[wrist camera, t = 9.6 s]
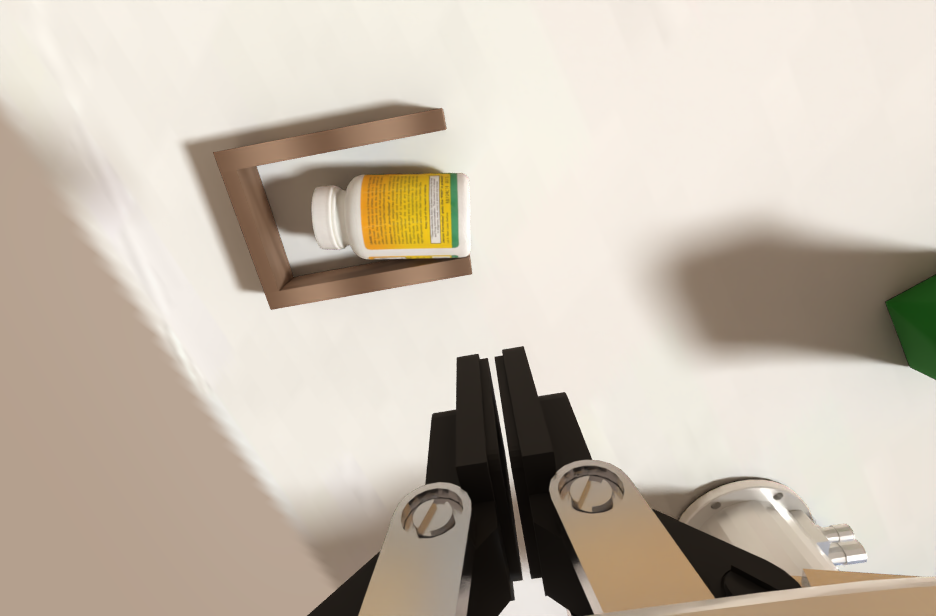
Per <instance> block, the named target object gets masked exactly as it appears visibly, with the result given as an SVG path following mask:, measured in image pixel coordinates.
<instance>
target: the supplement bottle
mask: <svg viewBox="0 0 936 616" xmlns="http://www.w3.org/2000/svg"><path fill="white" fill-rule="evenodd" d="M311 210H312V224H313V230H314V234H315V238H316V241H317V243H318V245H319V246H320V248H322V249H325V250H341V249H344V248H345V247H346V246H347V245H350V246H351V248H352V250H353V251H354V252H355V253H356V254H357V255H358V256H359V257H361V258H364V259H414V258H457V257H466V256H468V255H469V254H470V250H471V245H470V191H469V177H468V176H467V175H465V174H463V173H427V174H365V175H359V176H356V177H355V178H353V179H352V180H351V181H350V183H349V185H348V187H347V190H342V189H341V188H340V187H337V186H335V185H332V186H319V187H316V188H315V190H314V193H313V197H312V205H311Z"/></svg>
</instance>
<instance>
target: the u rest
mask: <svg viewBox="0 0 936 616" xmlns="http://www.w3.org/2000/svg"><path fill="white" fill-rule="evenodd" d="M446 129H447V128H446V123H445V117H444V112H443V109H442V108H440V109H435V110H429V111H424V112H419V113H414V114H409V115H404V116H398V117H393V118H388V119H383V120H378V121H373V122H368V123H362V124H357V125H352V126H347V127H342V128H337V129H331V130H326V131H321V132H316V133H311V134H306V135H301V136H295V137H290V138H285V139H280V140H275V141H270V142H264V143H259V144H254V145H249V146H244V147H239V148H234V149H228V150H223V151H218V152H213V154H214V156H215V159H216V162H217V164H218V167H219V170H220V173H221V175H222V178H223V181H224V184H225V186H226V189H227V192H228V194H229V197H230V200H231V203H232V205H233V208H234V211H235V214H236V216H237V219H238V222H239V224H240V227H241V230H242V233H243V235H244V238H245V241H246V244H247V246H248V249H249V252H250V254H251V257H252V260H253V263H254V265H255V268H256V271H257V274H258V276H259V279H260V282H261V284H262V287H263V290H264V293H265V295H266V298H267V301H268V304H269V306H270V309H271V310H272V309H278V308H283V307H289V306H295V305H300V304H306V303H312V302H317V301H323V300H329V299H334V298H340V297H346V296H351V295H357V294H363V293H368V292H374V291H380V290H385V289H391V288H397V287H402V286H408V285H414V284H419V283H425V282H431V281H436V280H442V279H448V278H453V277H459V276H465V275H470V274H472V268H471V260H470V254H469V255H468V256H466V257H457V258H414V259H391V260H386V261H380V262H375V263H369V264H364V265H358V266H353V267H347V268H341V269H336V270H330V271H325V272H319V273H314V274H308V275H302V276H297V277H293V274H292V271H291V268H290V265H289V262H288V259H287V256H286V253H285V250H284V247H283V244H282V241H281V238H280V235H279V232H278V229H277V226H276V223H275V220H274V217H273V214H272V211H271V208H270V205H269V202H268V199H267V196H266V194H265V191H264V188H263V185H262V182H261V179H260V176H259V173H258V170H257V167H256V166H259V165H264V164H269V163H274V162H279V161H285V160H290V159H295V158H300V157H306V156H311V155H316V154H321V153H326V152H332V151H337V150H342V149H347V148H352V147H358V146H363V145H368V144H373V143H379V142H384V141H389V140H394V139H399V138H405V137H410V136H415V135H420V134H425V133H431V132H436V131H441V130H446Z"/></svg>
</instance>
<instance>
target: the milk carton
mask: <svg viewBox="0 0 936 616" xmlns="http://www.w3.org/2000/svg"><path fill="white" fill-rule="evenodd" d="M885 303H886V305H887V308H888V311H889V313H890V316H891V319H892V321H893V324H894V327H895V329H896V332H897V334H898V337H899V340H900V342H901V345H902V348H903V350H904V353H905V356H906V358H907V361H908V364H909V366H910V368H912V369H915V370H917V371H919V372H921V373H923V374H925V375H927V376H929V377H931V378H933V379H935V380H936V275H934V276H932V277H931V278H929V279H927V280H925V281H923V282H921V283H920V284H918V285H916V286H914V287H912V288H910V289H908V290H907V291H905V292H903V293H901V294H899V295H897V296H896V297H894V298H892V299H890V300H888V301H886V302H885Z"/></svg>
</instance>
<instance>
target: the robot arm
mask: <svg viewBox="0 0 936 616" xmlns="http://www.w3.org/2000/svg"><path fill="white" fill-rule="evenodd" d="M502 353H503V356H497V357H495V363H496V370H497V377H498V383H499V390H500V397H501V403H502V410H503V417H504V424H505V430H506V437H507V444H508V450H509V456H510V462H511V468H512V474H513V480H514V485H515V491H516V496H517V502H518V507H519V513H520V519H521V524H522V530H523V535H524V541H525V546H526V552H527V558H528V563H529V569H530V574H531V579H534V578H541V577H542V580H543V586H544V591H545V596H549V597H550V598H552V599H553V600H555V601H556V602H558V603H559V604H561V605H562V606H563V607H565V608H566V609H567V615H568V616H936V577H920V576H905V575H890V574H875V573H860V572H845V571H839V570H838V569H837V567H836V566H835V565H841V564H842V565H848V564H855V563H862V562H866V561H867V554H866V551H865V549H864V547H863V546H862V545H861V543H860V542H858V541H857V540H856V539H855V536H854V533H853V530H852V529H851V528H850V526H849V525H847V524H838V525H832V526H829V527H824V528H821V527H820V526H818V525H815V524H814V523H813V522H812V515H811V513H810V510H809V508H808V506H807V505H806V504H805V502H804V501H803V500H802V499H801V498H800V497H799V496H798V495H797V494H796V493H795V492H794V491H793V490H791V489H790V488H788V487H787V486H785V485H782V484H779V483H777V482H773V481H767V480H743V481H737V482H732V483H729V484H726V485H722V486H720V487H718V488H716V489H713V490H711V491H709V492H707V493H706V494H704V495H703V496H701V497H700V498H698V499H697V500H696V501H695V502H693V503H692V504H691V505H690V506H689V507H688V508H687V509H686V511H685V512H684V513H683V514H682V515H681V517H680V519H679V521H678V520H676V519H674V518H672V517H669V516H667V515H665V514H663V513H660V512H658V511H656V510H654V509H652V508H650V506H649V505H648V503H647V502H646V501H645V499H644V498H643V496H642V495H641V494H640V492H639V491H638V489H637V488H636V487H635V485H634V484H633V482H632V481H631V480H630V478H629V477H628V476H627V475H626V474H625V473H624V472H623V471H622V470H621V469H619V468H617V467H616V466H614V465H612V464H610V463H606V462H603V461H599V460H592V458H591V455H590V453H589V450H588V448H587V445H586V443H585V440H584V438H583V435H582V433H581V430H580V427H579V425H578V422H577V420H576V417H575V415H574V412H573V410H572V407H571V405H570V402H569V399H568V397H567V395H566V393H565V392H563V393H556V394H550V395H544V396H538V395H537V391H536V388H535V384H534V381H533V377H532V374H531V371H530V367H529V364H528V360H527V357H526V353H525V350H524V346H522V347H516V348H510V349H504V350H502ZM520 580H523V578H522V571H521V563H520V556H519V549H518V542H517V535H516V527H515V520H514V513H513V506H512V499H511V491H510V484H509V477H508V470H507V462H506V456H505V450H504V444H503V438H502V433H501V427H500V422H499V416H498V411H497V406H496V400H495V395H494V389H493V384H492V378H491V373H490V367H489V362H488V358H485V359H480V358H479V354H474V355H468V356H462V357H457V382H456V410H451V411H445V412H439V413H433V414H432V420H431V430H430V441H429V452H428V463H427V473H426V484H425V485H424V486H422V487H419V488H417V489H415V490H414V491H412V492H411V493H409V494H408V495H406V496H405V498H404V499H403V500H402V501H401V502H400V503H399V504H398V506H397V508H396V510H395V512H394V514H393V517H392V520H391V523H390V525H389V528H388V531H387V534H386V537H385V540H384V543H383V546H382V549H381V551H380V552H379V553H378V554H377V555H375V556H374V557H373V558H372V559H371V560H370V561H369V562H367V563H366V564H365V565H364V566H363V567H362V568H361V569H360V570H358V571H357V572H356V573H355V574H354V575H353V576H352V577H350V578H349V579H348V580H347V581H346V582H345V583H344V584H343V585H341V586H340V587H339V588H338V589H337V590H336V591H335V592H333V593H332V594H331V595H330V596H329V597H328V598H327V599H326V600H324V601H323V602H322V603H321V604H320V605H319V606H318V607H316V608H315V609H314V610H313V611H312V612H311V613H310V614H309V615H307V616H498V615H499V614H500V613H501V612H502V610H503V609H504V608H505V607H506V605H507V604H508V603H509V602H510V601H513V600H515V598H514V589H513V581H520Z"/></svg>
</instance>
